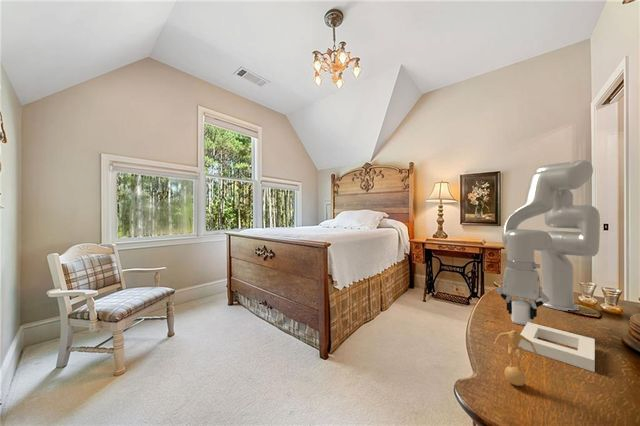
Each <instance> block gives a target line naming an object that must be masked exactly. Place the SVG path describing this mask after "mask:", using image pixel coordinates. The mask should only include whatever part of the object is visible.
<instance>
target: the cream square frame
mask: <svg viewBox="0 0 640 426" xmlns="http://www.w3.org/2000/svg"><path fill="white" fill-rule="evenodd" d="M519 334H520V335H522V336H524V337H525V338H527V339H528V340H530V341H531V342H532V343H533V346H534V348H535V349H536V352H537V354H538V356H539V355H540V356H543V357H546V358H549V359H551V360H555V361H559V362H560V363H561V362H562V363H565V364H568V365H571V366H574V367H577V368H580V369H584V370H586V371H589V372H593V373H595V372H596V371H595V368H596V366H595V365H596V364H595V362H596V361H595V360H596V358H595V357H596V354H595V353H596V345H595V343H596V342H595V338H593V337H588V336H585V335H580V334H576V333H573V332H569V331H564V330H561V329H556V328H553V327H550V326H546V325H545V326H544V325H541V324H537V323H534V322H532V323H530V322H527V324H526V325H524V327H523V329H522V330H521V332H520V333H519ZM538 338H539V339H538ZM541 339H542V340H541ZM545 340H547V341H545ZM548 341H549V342H548ZM550 341H551V342H550ZM552 342H554V343H552ZM555 343H557V344H555ZM563 345H564V346H563ZM567 346H568V347H567ZM519 347H522V350H525V351H527V352H530V353H533V354H535V352H534V350H533V348H532V346H531V344H530V343H528V342H527V341H525V340H523V339H521V341H520V343H519ZM570 347H571V348H570ZM576 349H577V350H576Z"/></svg>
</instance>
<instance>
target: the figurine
mask: <svg viewBox="0 0 640 426" xmlns="http://www.w3.org/2000/svg"><path fill="white" fill-rule="evenodd" d="M520 334H521V333H520V332H519V331H517V330H514V329H512V330H511V331H506V332H501V333H499V334H498V335H497V337H496V338H495V340H494V342H493V347H496V345H497V342H498V341H499V339H500V338H501V337H503V336H504V337H505V336H507V337H508V338H509V340H510V343H508V344H507V347H508V348H507V349H508V350H507V352H508V357H509V365H507V366H506V367H505V368H504V376H505V378H506V380H507V381H508V382H509V383H510V384H512V385H513V386H518V387H521V386H523V385H525V384H526V383H527V376H526V374H525V372H524V371H523V370H522V368H521V361H522V358H523V349H522V347H519V343H520V341H521V339H523V340H525V341H527V342H528V343H530V344H531V346H532V348H533V350H534V352H535V353H534V356H535V358H536V359H539V354H537V352H536V349H535V348H534V346H533V343H532V342H531V341H530V340H528V339H527V338H525V337H524V336H522V335H520ZM514 350H515V354H516V355H517V366H516V365H514V364H513V363H514V362H513V354H514Z"/></svg>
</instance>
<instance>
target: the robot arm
mask: <svg viewBox="0 0 640 426" xmlns="http://www.w3.org/2000/svg"><path fill="white" fill-rule="evenodd" d="M593 172H594V168H593V165H592V163H591V162H590V161H588V160H585V159H582V160H574V161H573V160H572V161H566V162H558V163H552V164H551V163H550V164H546V165H542V166H539V167H537V168H536V169H535V170H534V173H533V174H532V175H531V177H530V178H529V183H528V187H527V191H526V196H525V198H524V203H523V204H522V205H521V206H520V207H518V208H516V209H515V210H514V211H513V212H512V213H511V214H510V215H509V216H508V218H507V219H506V221H504V222H505V223H504V226H503V231H502V235H501V236H502V237H501V240H502V243H503V245H504V246H505V247H506V253H507V257H506V258H507V260H506V261H507V266H506V267H504V273H503V279H502V284H501V285H500V286H499V287H497V288H496V289H495V292H496V293H497V294H498V295H499V296H500V297H501V298H502V299H503V300H504V302H506V311H508V315H511V301H512V300H513V297H515V298H517V297H520V298H525V299H526V300H529V302H530V303H531V305H532V306H531V308H530V319H532V321H533V320H534V319H535V318H537V313H538V312H537V310H538V308H539V307H541V306H543V307H546V308H549V309H552V310H553V309H554V310H558V311H564V312H569V311H568V310H577V309H579V310H580V305H578V304H576V303H574V301H575V300H574V299H575V298H574V297H575V296H574V266H573V263H572V261H571V260H570V259H569V258H568V257H567V255H568V256H574V257H575V256H576V257H585V258H587V257H588V258H589V257H591V258H592V257H595V256H596V255H598V253H599V250H600V236H601V233H600V231H601V229H600V228H601V217H600V212H599V210H598V209H597V208H596V207H595V206H592V205H587V204H584V205H583V204H582V205H581V204H580V205H577V204H576V205H575V204H574V194H573V192H572V190H577V189H579V188H581V187H582V186H583V185H584V184H586V183H587V182H589V180H590V179H591V178H592V176H593ZM540 215H544V224H545V225H546V227H550V228H555V229H556V228H557V229H571V230H572V229H575V230H576V229H577V230H578V229H579V230H580V231H563V230H561V231H560V230H547V231H545V230H540V229H523V228H521V229H519V228H518V227H519V226H520V224H522V223H523V222H525V221H527V220H528V219H532V218H534V217H538V216H540ZM535 251H540V257H541V264H538V263H536V262H535ZM536 269H541V281H540V276H539V272H538V270H536Z"/></svg>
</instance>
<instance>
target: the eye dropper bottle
mask: <svg viewBox="0 0 640 426" xmlns="http://www.w3.org/2000/svg"><path fill="white" fill-rule="evenodd" d="M511 300H512V301H511V314H510V315H511V316H510V318H511V321H512V323H513V324H517V325H522V326H525V325H526V324H527V322H530V323H533V320H532V319H530V308H531V306H532V305H531V303H530V301H528V300H527V299H525V298H520V297H516V298H515V299H511Z"/></svg>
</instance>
